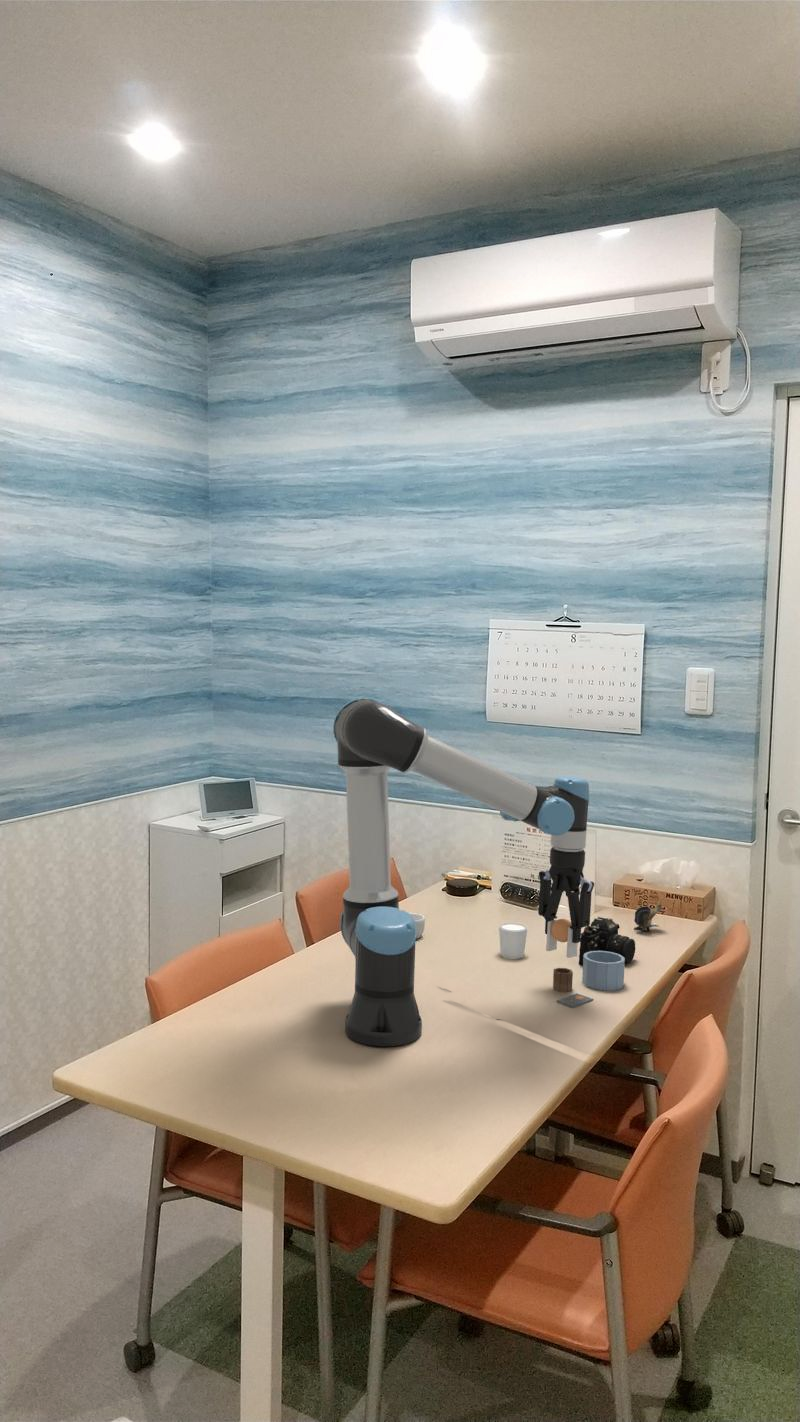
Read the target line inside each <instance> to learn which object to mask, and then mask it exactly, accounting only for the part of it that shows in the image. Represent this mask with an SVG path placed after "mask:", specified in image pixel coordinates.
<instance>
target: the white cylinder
mask: <svg viewBox="0 0 800 1422" xmlns="http://www.w3.org/2000/svg"><path fill="white" fill-rule="evenodd" d="M498 930H499V931H498V933H499V951H500V956H501V957H503V958H506V959H510V960H511V959H512V960H515V959H517V960H518V959H521V958H523V957H524V956H525V949H526V942H527V936H528V935H527V934H528V927H527V926H526V925H523V924H518V923H504V924H500V925H499V926H498Z"/></svg>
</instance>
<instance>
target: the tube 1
mask: <svg viewBox="0 0 800 1422" xmlns="http://www.w3.org/2000/svg"><path fill="white" fill-rule="evenodd" d="M573 973H574V972H573V970H572V969H569V968H567V967H557V968H553V975H552V989H553V990H554V991H556V992H560V993H568V992H571V991H573V976H574V974H573Z"/></svg>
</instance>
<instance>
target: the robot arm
mask: <svg viewBox="0 0 800 1422" xmlns="http://www.w3.org/2000/svg"><path fill="white" fill-rule="evenodd" d="M332 727H333V735H334V738H335V741H336V744H337V766H338V768H340V769H341V770H342V771H343V772H344V774H345V786H346V813H347V815H346V817H347V818H346V819H347V842H348V844H347V845H348V847H347V848H348V870H349V871H348V872H349V873H348V874H349V887H348V888H347V889H346V890H345V891H344V892H343V894H342V905H343V906H342V907H343V909H342V910H343V911H342V912H341V915H340V932H341V936H342V939H343V940H344V942H345V943H346V945H347V946H348V948H349V950H350V952H351V953H352V955H353V956H354V958H355V959H354V960H355V966H354V967H355V969H354V994H353V997H352V1000H351V1002H350V1007H349V1012H348V1013H347V1015H346V1017H345V1018H344V1019H345V1021H344V1032H345V1034H346V1036H347V1037H348V1038H350V1040H353V1041H355V1042H357V1043H360V1044H363V1045H368V1046H376V1047H377V1046H378V1047H395V1046H400V1045H406V1044H409V1043H412V1042H414V1041H416V1040H418V1039H419V1038H421V1036H422V1031H423V1020H422V1016H421V1015H420V1012H419V1011H420V1010H419V1007H418V1003H417V1000H416V997H415V973H416V972H415V968H416V967H415V965H416V940H417V939H416V929H415V921H414V919H413V917H412V916H411V915H410V914H409V913H410V912H407V911H405V910H403V909H400V904H399V901H400V900H399V891H398V890H397V889H395V888H394V887H393V886H392V884H391V883H392V881H391V853H390V851H391V850H390V848H391V847H390V846H391V845H390V823H389V821H390V819H389V817H390V816H389V792H388V791H389V787H388V772H389V771H390V769H391V768H392V769H394V770H397V771H399V772H402V773H404V774H405V773H408V772H414V773H416V774H418V775H419V776H422V777H424V778H426V779H428V780H431V781H433V782H435V783H438V784H440V785H442V786H445V787H446V788H449V789H450V790H453V791H455V792H458V793H460V794H462V795H464V796H466V797H468V798H470V799H473V800H475V801H477V802H479V803H482V804H483V805H486V806H489V807H490V808H492V809H495V810H496V811H499V814H500V816H501V818H502V819H503V820H505V821H511V822H515V823H516V822H522V823H525V824H527V825H529V826H531V827H534V828H535V829H538V830H540V831H541V832H543V833H544V834H547V835H550V845H551V846H552V847H551V848H550V849H549V865H550V867H549V870H548V869H545V870H541V871H539V872H538V877H539V878H538V879H539V881H540V882H539V898H538V915H539V916H542V917H543V918H544V921H545V923H544V925H545V927H544V934H545V935H546V944H545V946H546V947H545V951H546V952H552V951H554V950H557V948H558V941H557V940H556V939H555V938H554V937H553V935H552V932H551V928H552V925H553V923H554V922H555V921H557V920H558V916H557V912H558V910H559V907H560V903H561V899H562V895H563V893H564V892H565V897H567V904H568V909H569V917H570V922H571V926H569V928H568V939H567V942H566V944H567V945H566V955H565V956H566V958H568V959H571V958H574V957H577V955H578V943H579V944H580V940H581V933H582V929H583V928H585V927H587V926H591V910H592V909H591V907H592V894H593V889H594V887H595V883H594V881H591V880H590V881H589V880H588V879H586V878H585V876H584V873H583V870H584V867H585V864H586V863H585V861H586V851H585V850H584V849H586V845H587V831H588V829H587V828H588V827H587V825H588V812H589V801H590V784H589V782H588V781H587V780H586V779H585V778H582V777H576V776H564V775H563V776H557V777H555V779H554V783H553V784H552V785H549V786H540V785H539V786H536V785H533V784H531V783H529V782H527V781H525V780H522V779H520V778H518V777H516V776H514V775H512V774H509V773H508V772H506V771H504V770H502V769H499V768H497V767H495V766H493V765H491V764H489V763H487V762H485V761H483V760H480V759H478V758H476V757H474V756H472V755H470V754H468V753H466V752H463V751H462V750H459V749H457V748H455V747H453V746H451V745H449V744H446V743H445V742H443V741H440V740H438V739H436V738H434V737H432V736H429V735H428V734H427V730H426V728H425V727H423V726H420V725H418V724H416V723H414V722H413V721H411V720H409V719H408V718H406V717H404V716H403V715H401V714H400V713H398V712H397V711H396V710H394V709H393V708H391V707H390V706H389V705H386V704H385V703H383V702H381V703H380V702H378V701H377V700H375V699H371V698H357V699H354V700H350V701H348V702H347V703H346V704H344V705H343V706H341V708H340V709H339V710H338V711H337V713H336V715H335V718H334V721H333V726H332Z"/></svg>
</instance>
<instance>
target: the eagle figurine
mask: <svg viewBox="0 0 800 1422" xmlns="http://www.w3.org/2000/svg"><path fill="white" fill-rule="evenodd" d="M661 910H662V904H658V905H657V906H655V908H653V909H651V908H650V907H649V906H648V905H646V906H645V905H644V906H641V907H639V908H638V909H636V910H635V912H634V922H635V925H636V926H635V927H633V929H634V930H636V929H640V928H641V931H642V932H641V933H645V934H646V932H648V933H650V932H651V928H655V927H658V928H659V924H658V923H655V922H652V921H653V920H652V919H653V918H654V917H655V916H656V915H657V914H658V913H659V912H660V911H661Z"/></svg>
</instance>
